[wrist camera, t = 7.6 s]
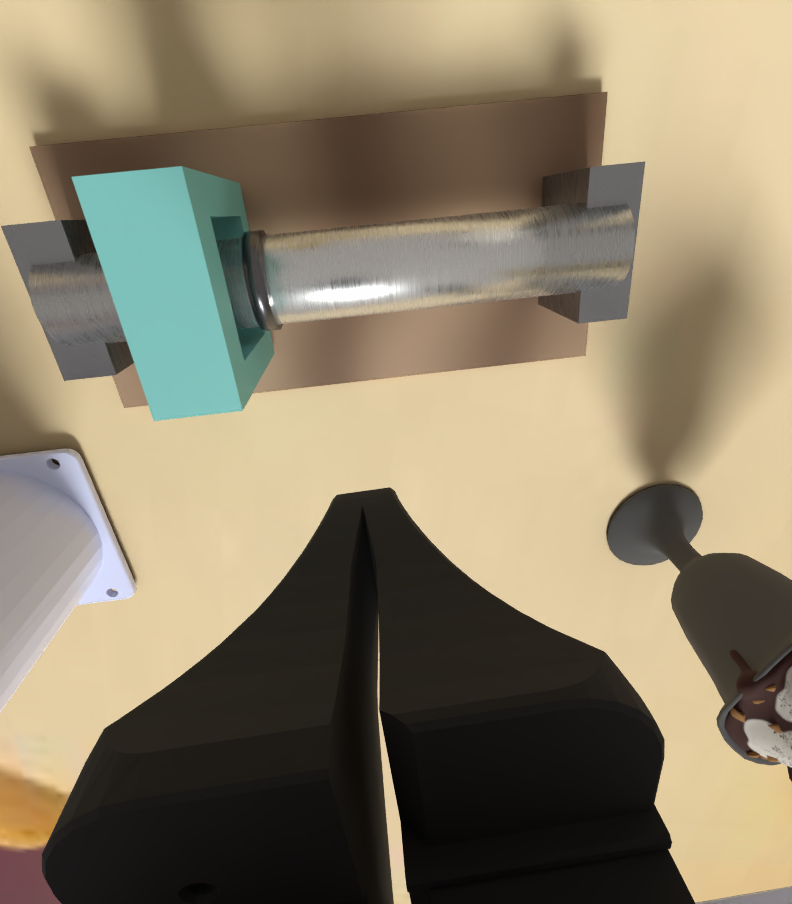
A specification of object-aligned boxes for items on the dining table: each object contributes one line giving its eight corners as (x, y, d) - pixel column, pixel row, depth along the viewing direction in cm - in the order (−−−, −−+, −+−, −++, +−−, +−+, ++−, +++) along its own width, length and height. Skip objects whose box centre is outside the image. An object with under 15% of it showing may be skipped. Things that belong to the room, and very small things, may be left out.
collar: (212, 360, 19) (154, 420, 13) (167, 190, 16) (71, 177, 11) (274, 353, 19) (242, 411, 13) (239, 182, 16) (181, 166, 11)
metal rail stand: (117, 350, 19) (49, 389, 14) (72, 224, 17) (-21, 226, 12) (577, 300, 19) (640, 323, 15) (587, 172, 17) (662, 158, 13)
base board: (128, 404, 20) (124, 407, 20) (36, 148, 16) (28, 146, 16) (581, 353, 21) (585, 355, 20) (601, 94, 17) (607, 91, 16)
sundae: (639, 449, 23) (1047, 780, 9) (743, 493, 25) (1217, 829, 11) (564, 555, 25) (805, 938, 12) (663, 589, 27) (973, 959, 14)
